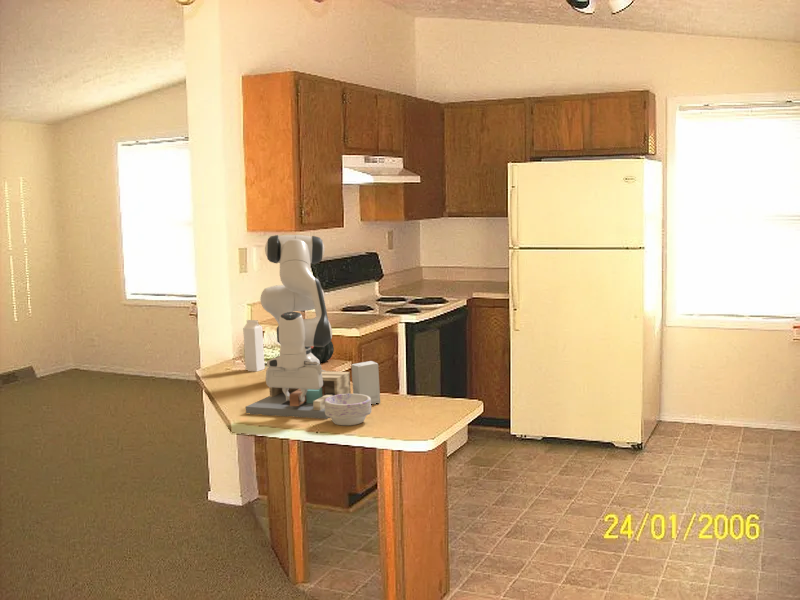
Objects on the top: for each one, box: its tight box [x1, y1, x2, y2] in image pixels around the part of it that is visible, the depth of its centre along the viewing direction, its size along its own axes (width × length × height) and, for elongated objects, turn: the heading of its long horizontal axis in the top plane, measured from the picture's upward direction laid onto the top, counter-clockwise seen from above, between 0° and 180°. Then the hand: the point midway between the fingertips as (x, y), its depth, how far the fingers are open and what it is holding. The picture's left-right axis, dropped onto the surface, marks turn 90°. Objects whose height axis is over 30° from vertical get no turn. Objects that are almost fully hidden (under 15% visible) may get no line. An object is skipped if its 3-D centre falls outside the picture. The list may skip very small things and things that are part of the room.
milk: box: [242, 319, 266, 372], centre depth 375 cm, size 6×6×22 cm
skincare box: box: [351, 360, 381, 405], centre depth 304 cm, size 8×6×15 cm
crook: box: [289, 386, 325, 406], centre depth 297 cm, size 16×8×4 cm, turn 170°
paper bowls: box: [324, 393, 372, 426], centre depth 281 cm, size 15×15×8 cm
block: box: [306, 388, 322, 403], centre depth 300 cm, size 4×4×4 cm
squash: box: [311, 340, 335, 363], centre depth 389 cm, size 14×15×15 cm
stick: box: [313, 395, 333, 410], centre depth 293 cm, size 10×2×3 cm, turn 159°
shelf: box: [268, 370, 352, 397], centre depth 311 cm, size 11×27×8 cm, turn 69°
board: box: [245, 391, 335, 420], centre depth 304 cm, size 26×31×2 cm
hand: (295, 400), depth 291 cm, fingers closed on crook, 3 cm apart
